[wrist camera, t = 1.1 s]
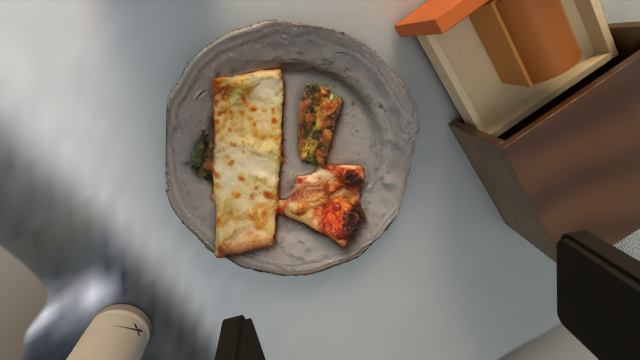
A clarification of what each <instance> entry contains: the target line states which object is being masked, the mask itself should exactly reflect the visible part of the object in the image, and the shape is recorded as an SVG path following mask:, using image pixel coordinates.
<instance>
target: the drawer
mask: <svg viewBox="0 0 640 360" xmlns="http://www.w3.org/2000/svg"><path fill="white" fill-rule="evenodd" d="M488 1H489V0H429V1H427V2H426V3H425V4H423V5H422V6H421V7H419V8H418V9H417V10H415V11H414V12H413V13H411V14H410V15H408V16H407V17H406V18H404V19H403V20H402V21H400V22H399V23H398V24H396V25H395V29H396V30H397V32H398V34H399V35H400V37H409V36H416V37H417V38H418V40H419V42H420V44H421V46H422V47H423V49H424V51H425V53H426V54H427V56H428V58H429V60H430V62H431V63H432V65H433V67H434V69H435V70H436V72H437V74H438V76H439V78H440V79H441V81H442V83H443V85H444V86H445V88H446V90H447V92H448V94H449V95H450V97H451V99H452V101H453V103H454V104H455V106H456V108H457V110H458V111H459V113H460V115H461V117H462V119H463V120H464V122H465V124H466V125H468V126H471V127H473V128H475V129H478V130H480V131H483V132H485V133H488V134H490V135H492V136H495V137H498V136H499V135H501V134H502V133H504V132H505V131H507V130H508V129H510V128H511V127H513V126H514V125H516V124H517V123H519V122H520V121H521V120H523V119H524V118H526V117H527V116H529V115H530V114H532V113H533V112H535V111H536V110H538V109H539V108H541V107H542V106H544V105H545V104H546V103H548V102H549V101H551V100H552V99H554V98H555V97H557V96H558V95H560V94H561V93H563V92H564V91H566V90H567V89H569V88H570V87H571V86H573V85H574V84H576V83H577V82H579V81H580V80H582V79H583V78H585V77H586V76H588V75H589V74H591V73H592V72H594V71H595V70H596V69H598V68H599V67H601V66H602V65H604V64H605V63H607V62H608V61H610V60H611V59H613V58H614V57H616V56H617V55H618V51H617V49H616V46H615V43H614V41H613V38H612V35H611V33H610V30H609V27H608V24H607V22H606V19H605V16H604V14H603V11H602V8H601V6H600V3H599V0H561V2H562V5H563V7H564V9H565V12H566V14H567V17H568V19H569V22H570V24H571V27H572V29H573V32H574V34H575V37H576V39H577V41H578V44H579V46H580V49H581V51H582V52H581V59H580V60H579V62H578V63H577V64H576V65H575V66H573V67H572V68H571V69H569V70H568V71H566V72H564V73H563V74H561V75H559V76H557V77H555V78H552V79H550V80H547V81H544V82H540V83H536V84H535V85H533V86H532V87H524V86H518V85H512V84H506V83H502V82H501V80H500V78H499V76H498V74H497V72H496V70H495V68H494V66H493V64H492V62H491V60H490V58H489V56H488V54H487V52H486V50H485V48H484V46H483V44H482V42H481V40H480V38H479V36H478V34H477V32H476V30H475V28H474V26H473V24H472V22H471V20H470V18H469V16H468V15H470V14H471V13H473V12H474V11H475V10H477V9H478V8H480V7H481V6H482V5H484V4H485V3H486V2H488Z"/></svg>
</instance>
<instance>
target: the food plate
mask: <svg viewBox="0 0 640 360" xmlns="http://www.w3.org/2000/svg"><path fill="white" fill-rule="evenodd" d="M168 96H169V95H168ZM167 112H168V116H167V114H166V166H167V171H166V177H167V181H166V185H168V186H167V188H168V189H166V192H167V196H168V198H169V202H170V205H171V207H172V208H173V210H174V212H175V213H176V215H177V216H178V217H179V219H180V220H181V221H182V223H183V224H185V226H186V227H187V228H188V229H189V230H190V231H192V232H193V233H194V234H195V235H196V236H197V237H198V239H199V240H201V242H202V243H203V244H204V245H205V246H206V248H207V249H208V250H210V251H211V252H213V253H214V254H215V256H216V257H217V258H223V257H225V258H227V259H229V260H230V261H232V262H234V263H235V264H237V265H239V266H241V267H243V268H247V269H253V270H255V271H259V272H266V273H272V274H276V275H281V276H288V275H289V276H290V275H294V276H298V275H309V274H313V273H317V272H321V271H323V270H327V269H329V268H331V267H334V266H337V265H340V264H342V263H345V262H348V261H351V260H353V259H355V258H357V257H359V256H360V255H361V254H362V253H364V252H365V251H366V250H367V249H368V246H369V247H370V245H372V243H373V242H374V241H376V239H379V238H380V237H381V236H382V234H383V233H384V232H385V231H386V230H387V228H388V227H389V226H390V224H391V223H392V222H393V220H394V219H395V218H396V217H397V214H398V212H399V209H400V204H401V203H402V198H403V195H404V194H403V193H404V190H405V186H406V181H407V177H408V174H409V170H410V165H411V160H412V157H413V152H414V147H415V144H416V142H415V144H414V141H415V140H416V135H417V134H418V130H419V127H418V126H419V124H418V119H417V118H418V117H417V110H416V109H415V105H414V101H413V99H412V97H411V95H410V93H409V91H408V90H407V89H406V87H405V86H404V84H403V82H402V80H401V79H400V78H399V77H398V76H397V75H396V74H395V72H394V71H393V70H392V69H390V68H389V67H388V65H386V63H385V62H384V61H383V60H382V59H381V58H380V57H379V56H378V55H377V53H376V52H375V51H373V50H371V48H369V47H367V46H366V45H365V44H363V43H361V42H359V41H357V40H356V39H353V38H351V37H349V36H348V35H346V34H344V33H343V32H341V33H340V31H339V32H336V31H334V30H329V29H327V28H322V27H317V26H310V25H304V24H299V23H293V22H285V23H284V21H277V20H266V21H263V22H259V23H257V24H254V25H250V26H249V27H246V28H245V29H238V30H237V31H232V33H229V34H227V35H225V36H223V37H222V38H218V39H217V40H216V41H215V42H212V43H211V44H210V45H207V46H206V48H205V49H203V50H201V51H200V52H199V53H198V54H197V55H196V56H195V57H194V58H193V60H191V62H190V63H188V66H187V67H186V68H184V71H183V72H182V75H181V77H180V79H179V80H178V82H177V84H176V85H175V87H174V88H173V89H172V91H171V94H170V99H169V107H168V103H167ZM167 117H168V119H167Z"/></svg>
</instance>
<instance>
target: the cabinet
mask: <svg viewBox="0 0 640 360" xmlns="http://www.w3.org/2000/svg"><path fill="white" fill-rule="evenodd" d="M608 27H609V30H610V33H611V35H612V38H613V41H614V43H615V46H616V49H617V51H618V55H617V56H616V57H614V58H613V59H611V60H610V61H608V62H607V63H605V64H604V65H602V66H601V67H599V68H598V69H596V70H595V71H594V72H592V73H591V74H589V75H588V76H586V77H585V78H583V79H582V80H580V81H579V82H577V83H576V84H574V85H573V86H571V87H570V88H569V89H567V90H566V91H564V92H563V93H561V94H560V95H558V96H557V97H555V98H554V99H552V100H551V101H549V102H548V103H546V104H545V105H544V106H542V107H541V108H539V109H538V110H536V111H535V112H533V113H532V114H530V115H529V116H527V117H526V118H524V119H523V120H521V121H520V122H519V123H517V124H516V125H514V126H513V127H511V128H510V129H508V130H507V131H505V132H504V133H502V134H501V135H499V136H498V137H495V136H492V135H490V134H488V133H485V132H483V131H480V130H478V129H475V128H473V127H471V126H468V125H466V124H465V122H464V120H463V119H462V117H461V116H459V117H458V118H456V119H455V120H454V121H452V122H451V123H449V124H448V125H449V127H450V128H451V130H452V132H453V134H454V135H455V137H456V139H457V141H458V142H459V144H460V146H461V147H462V149H463V151H464V153H465V154H466V156H467V158H468V159H469V161H470V163H471V165H472V166H473V168H474V170H475V172H476V173H477V175H478V177H479V178H480V180H481V182H482V184H483V185H484V187H485V189H486V190H487V192H488V194H489V196H490V197H491V199H492V201H493V203H494V204H495V206H496V208H497V209H498V211H499V213H500V215H501V216H502V218H503V220H504V221H505V223H506V224H507V225H508V226H509V227H510V228H512V229H513V230H514V231H515V232H517V233H518V234H519V235H521V236H522V237H523V238H525V239H526V240H527V241H528V242H530V243H531V244H532V245H534V246H535V247H536V248H538V249H539V250H540V251H541V252H543V253H544V254H545V255H547V256H548V257H549V258H551V259H552V260H553V261H554V262H556V263H557V251H556V245H557V242H558V241H559V240H560V238H561V236H562V235H563V234H565V233H569V232H573V231H577V230H586V231H588V232H590V233H592V234H594V235H595V236H597V237H599V238H600V239H602V240H604V241H605V242H607V243H609V244H611V245H614V244H616V243H617V242H619V241H620V240H622V239H624V238H625V237H627V236H628V235H630V234H632V233H633V232H635V231H637V230H638V229H640V22H626V23H611V24H608Z"/></svg>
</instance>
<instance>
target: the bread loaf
mask: <svg viewBox="0 0 640 360" xmlns="http://www.w3.org/2000/svg"><path fill="white" fill-rule="evenodd" d="M468 16H469V18H470V20H471V22H472V24H473V26H474V28H475V30H476V32H477V34H478V36H479V38H480V40H481V42H482V44H483V46H484V48H485V50H486V52H487V54H488V56H489V58H490V60H491V62H492V64H493V66H494V68H495V70H496V72H497V74H498V76H499V78H500V80H501V82H502V83H506V84H512V85H518V86H524V87H532V86H533V85H535V84H536V83H540V82H544V81H547V80H550V79H552V78H555V77H557V76H559V75H561V74H563V73H564V72H566V71H568V70H569V69H571V68H572V67H573V66H575V65H576V64H577V63H578V62H579V60H580V59H581V52H582V51H581V49H580V46H579V44H578V41H577V39H576V37H575V34H574V32H573V29H572V27H571V24H570V22H569V19H568V17H567V14H566V12H565V9H564V7H563V5H562V2H561V0H489V1H488V2H486V3H485V4H484V5H482V6H481V7H480V8H478V9H477V10H475V11H474V12H473V13H471V14H470V15H468Z"/></svg>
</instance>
